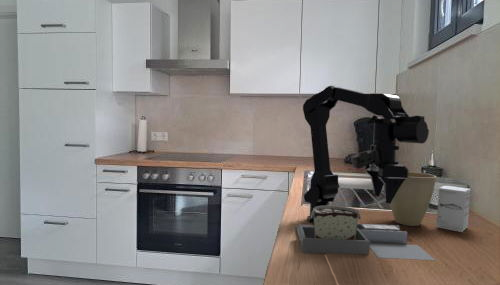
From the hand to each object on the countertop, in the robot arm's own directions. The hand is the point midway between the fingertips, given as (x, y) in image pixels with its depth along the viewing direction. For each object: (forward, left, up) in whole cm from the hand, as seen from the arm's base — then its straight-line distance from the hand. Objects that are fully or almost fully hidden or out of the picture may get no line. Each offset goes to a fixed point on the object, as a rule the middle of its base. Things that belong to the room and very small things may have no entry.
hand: (382, 199), depth 93 cm
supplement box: (-16, +27, -12) cm, 33 cm away
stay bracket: (0, 0, -11) cm, 11 cm away
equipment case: (+1, -14, -11) cm, 18 cm away
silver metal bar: (0, 0, -11) cm, 11 cm away
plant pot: (-20, +15, -12) cm, 27 cm away
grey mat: (+8, +2, -11) cm, 14 cm away
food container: (+6, -14, -12) cm, 19 cm away
